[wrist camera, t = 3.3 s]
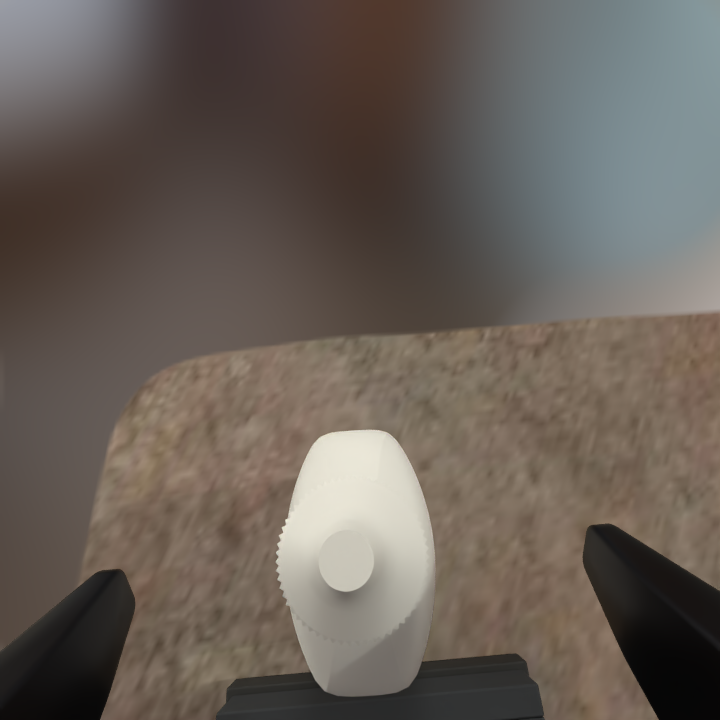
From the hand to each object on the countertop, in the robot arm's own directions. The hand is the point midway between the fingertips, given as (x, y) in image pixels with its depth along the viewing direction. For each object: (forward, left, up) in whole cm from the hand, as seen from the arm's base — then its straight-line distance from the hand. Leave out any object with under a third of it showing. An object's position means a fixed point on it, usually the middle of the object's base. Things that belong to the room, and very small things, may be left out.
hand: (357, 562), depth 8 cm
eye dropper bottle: (0, 0, -9) cm, 9 cm away
